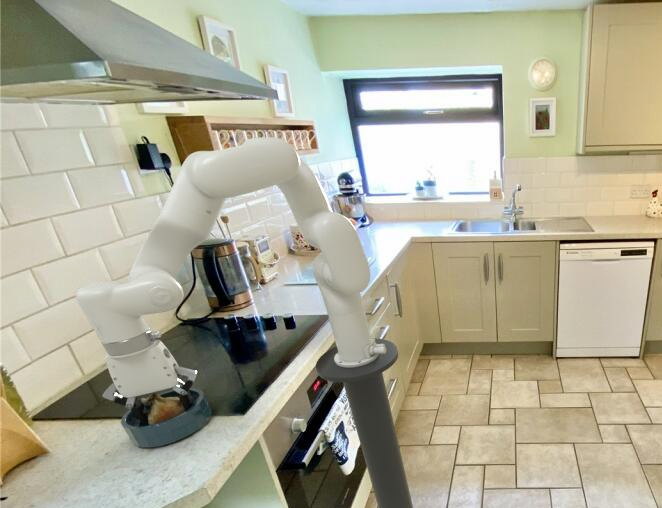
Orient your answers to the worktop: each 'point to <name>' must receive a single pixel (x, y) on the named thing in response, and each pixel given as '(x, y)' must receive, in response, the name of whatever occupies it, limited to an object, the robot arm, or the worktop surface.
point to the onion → (162, 408)
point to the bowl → (168, 422)
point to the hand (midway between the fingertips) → (167, 412)
